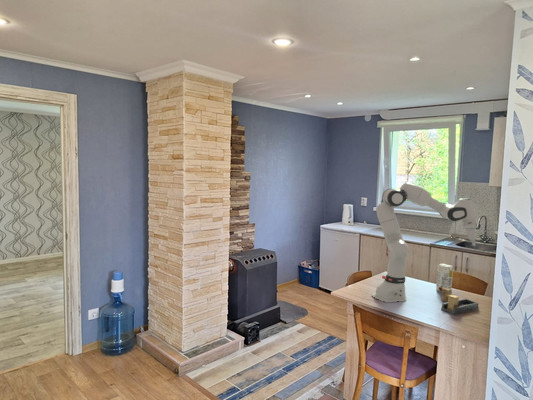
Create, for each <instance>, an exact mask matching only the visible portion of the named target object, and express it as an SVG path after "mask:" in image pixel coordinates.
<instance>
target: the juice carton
mask: <svg viewBox="0 0 533 400" xmlns="http://www.w3.org/2000/svg"><path fill="white" fill-rule="evenodd" d="M453 269H454V266H453V265H451V264H446V263H440V264H437V271H436V272H437V273H436V285H435V288H436V292H440V293H442V288H449V289H452V286H453V285H452V284H453V276H454V275H453V274H454V270H453Z"/></svg>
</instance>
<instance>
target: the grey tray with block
mask: <svg viewBox="0 0 533 400" xmlns="http://www.w3.org/2000/svg"><path fill="white" fill-rule="evenodd" d="M479 309H480V307H479V302H477V301H475V300H471V299H468V298H462V299H460V297H459V296H457V295H455V294H452V295H448V302H444V303H441V309H440V310H442V311H443V312H446V313H448V314H451V315H452V316H458V315H462V314H465V313H470V312H474V311H479Z"/></svg>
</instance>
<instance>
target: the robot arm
mask: <svg viewBox="0 0 533 400" xmlns="http://www.w3.org/2000/svg"><path fill="white" fill-rule="evenodd" d="M381 197H382V198H381V203H380V204H378V205H377V206H376V209H375V211H376V216H377V221H378V223H379V226H380V228H381V231H382V233H383V237H384V240H385V242H386V247H387V249H388V250H389V257H388V262H387V269H386V270H387V272H386V275H382V276H381V278H382V279H383V281H382V282H381V283H380V284H379V285H378V286H377V287H376V289H375V292H374V293H372V294H371V296H372V298H374V297H375V298H377V299H379V300H378V301H380V300H382V301H381V302H383V301H385V302H384V303H397V301H399V302H406V301H407V297H406V287H405V283H406V265H407V261H408V258H409V257H408V256H409V252H410V248H409V245H408V243H407V242H405V240H404V238H403V235H402V230H401V227H400V224H399V221H398V219H397V215H396V213H395V210H394V209H395V207H400V206H402V205H403V204H404V203H405V202H406V201H409V202H411V203H412V204H415V205H418V206H421V207H428V208H431V209H432V210H434V211H437V212H438V214H439V216H441V217H442V218H444V219H445V220H449V221H452V222H458V221H460V220H461V223H462V226H463V228H464V229H465V231H466V235H467V237H468V240H469V241H471V243H472V244H471V245H472V246H476V240H477V232H476V231H477V229H476V228H477V226H478V225H479V220H478V216H477V214H476V211H477V210H476V206H475V203H474V200H473V198H469V197H467V198H466V197H463V198H458V200H457V201H456V202H455V203H454V204H452V203H444V202H441V201H439V200H437V199H435V198H433V196H432V194H431V193H430V192H429V191H427V190H426V188H423V187H421V186H419V185H417V184H413V183H410V182H404V183H403V184H402V185H401V186H400V188H399V189H395V188H388V189H386V190H384V192H383V193H382V196H381ZM375 298H374V299H375ZM377 299H376V300H377Z"/></svg>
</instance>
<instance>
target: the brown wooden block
mask: <svg viewBox="0 0 533 400" xmlns="http://www.w3.org/2000/svg"><path fill="white" fill-rule="evenodd" d="M440 293H441V296H440V297H441V298H440V299H441V300H440V301H442V302H444V303H447V302H448V295H453V294H452V293H453V289H452V288H451V289H449V288H442V292H440Z"/></svg>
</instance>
